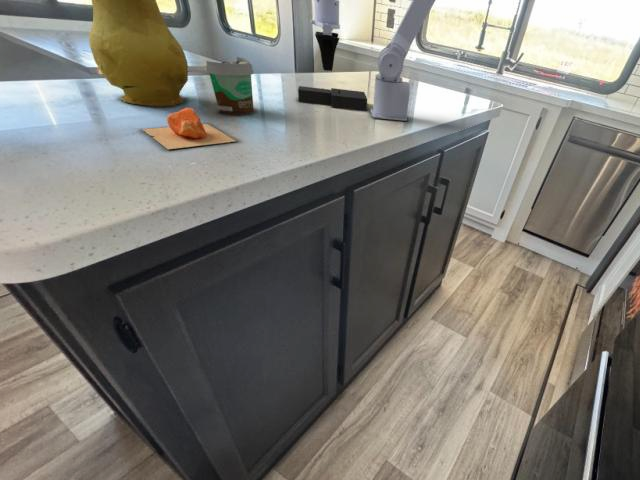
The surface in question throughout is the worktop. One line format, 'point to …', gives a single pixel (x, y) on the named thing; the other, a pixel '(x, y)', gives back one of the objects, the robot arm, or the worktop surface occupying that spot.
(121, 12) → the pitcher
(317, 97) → the black pad
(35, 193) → the worktop surface
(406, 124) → the worktop surface
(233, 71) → the food container
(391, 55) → the robot arm
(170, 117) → the rock
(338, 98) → the graphite pad
